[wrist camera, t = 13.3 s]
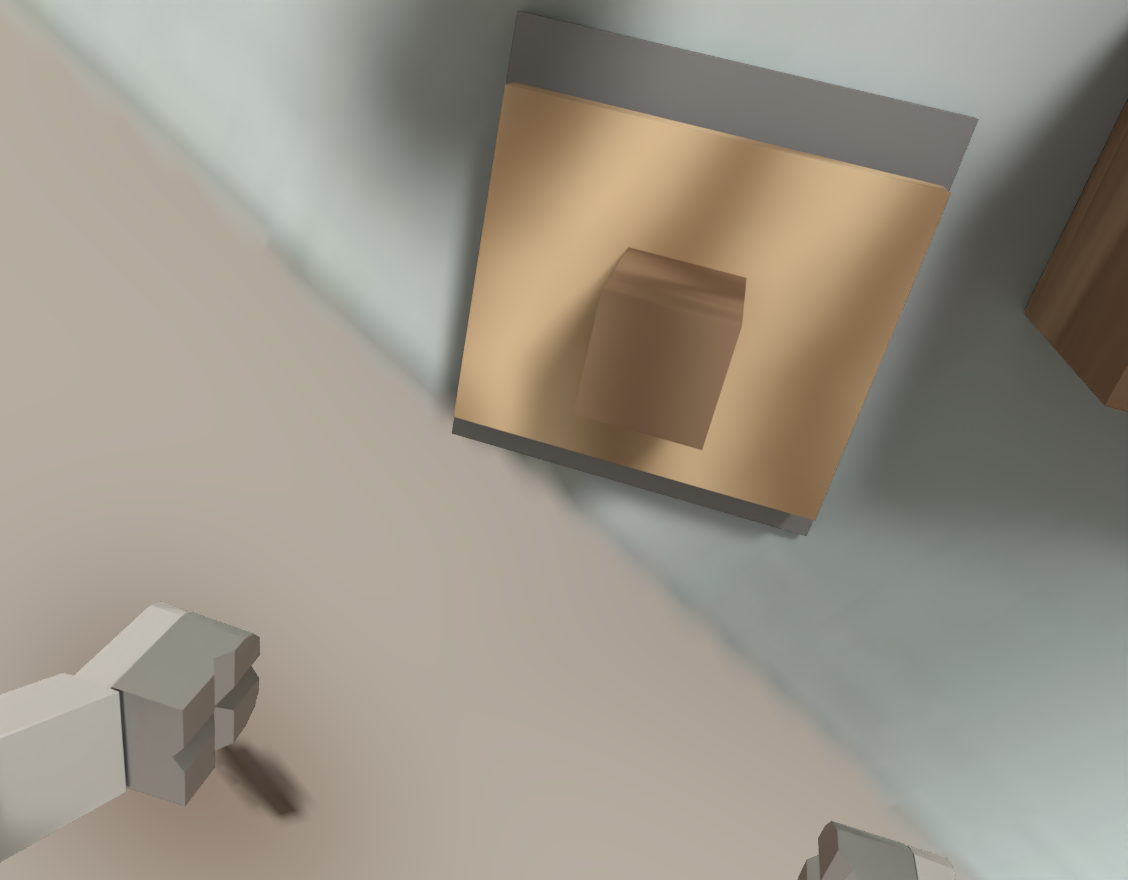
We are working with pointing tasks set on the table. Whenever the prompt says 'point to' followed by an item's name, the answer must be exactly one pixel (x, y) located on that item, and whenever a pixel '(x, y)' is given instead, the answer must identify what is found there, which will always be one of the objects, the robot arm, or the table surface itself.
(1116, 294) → the storage box
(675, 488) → the mat
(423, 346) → the table surface
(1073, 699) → the table surface
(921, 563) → the table surface
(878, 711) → the table surface
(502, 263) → the lid
